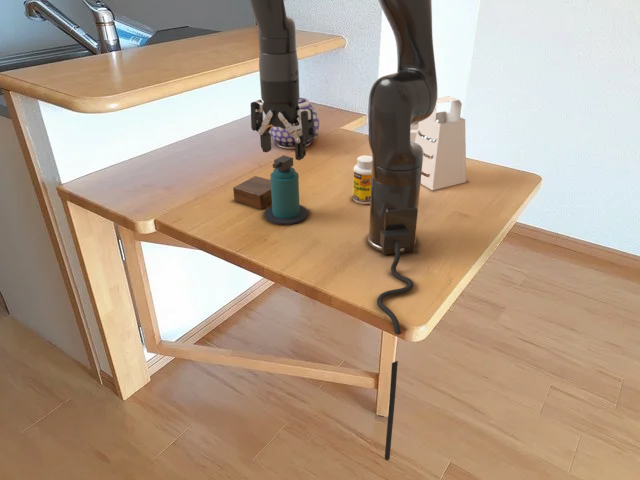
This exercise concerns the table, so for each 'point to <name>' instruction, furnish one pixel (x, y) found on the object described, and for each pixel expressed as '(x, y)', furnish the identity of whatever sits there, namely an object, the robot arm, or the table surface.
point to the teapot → (284, 136)
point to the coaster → (288, 221)
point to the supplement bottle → (362, 180)
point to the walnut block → (254, 192)
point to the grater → (443, 146)
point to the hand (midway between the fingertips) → (283, 155)
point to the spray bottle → (284, 188)
